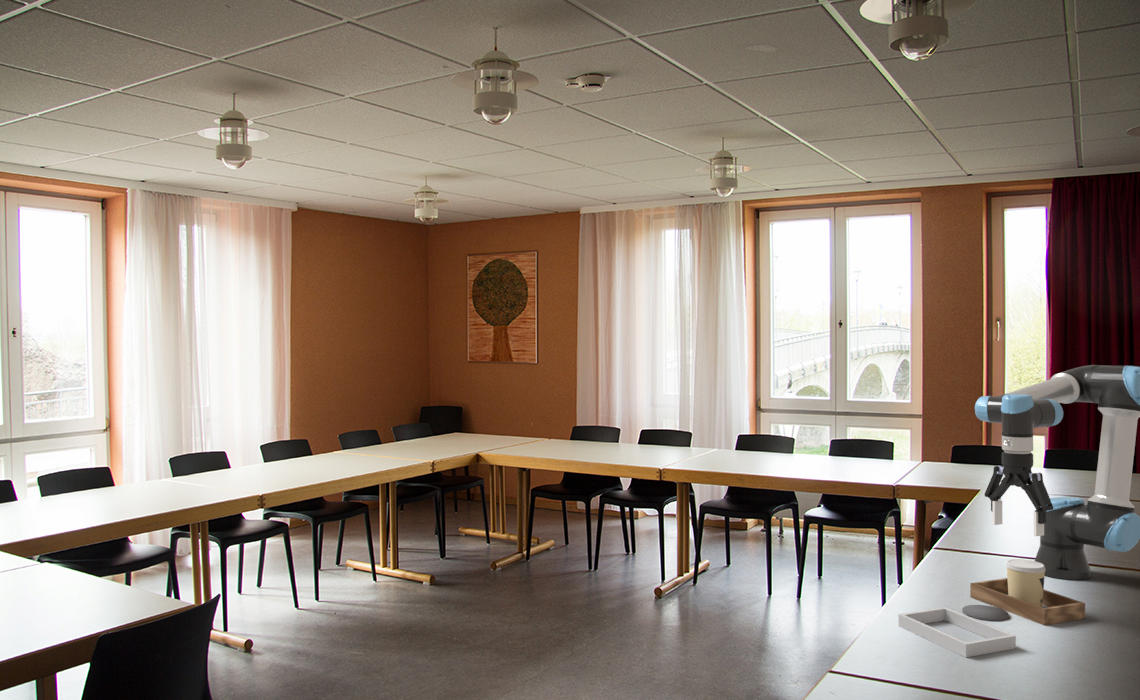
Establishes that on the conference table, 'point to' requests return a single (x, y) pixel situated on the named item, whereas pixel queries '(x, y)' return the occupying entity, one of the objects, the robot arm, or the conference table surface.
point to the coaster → (985, 612)
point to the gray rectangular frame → (917, 625)
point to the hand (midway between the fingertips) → (1017, 529)
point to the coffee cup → (1026, 580)
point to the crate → (1055, 613)
